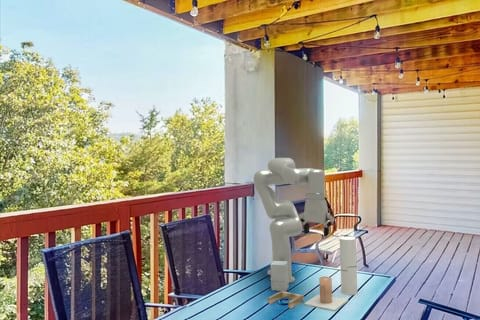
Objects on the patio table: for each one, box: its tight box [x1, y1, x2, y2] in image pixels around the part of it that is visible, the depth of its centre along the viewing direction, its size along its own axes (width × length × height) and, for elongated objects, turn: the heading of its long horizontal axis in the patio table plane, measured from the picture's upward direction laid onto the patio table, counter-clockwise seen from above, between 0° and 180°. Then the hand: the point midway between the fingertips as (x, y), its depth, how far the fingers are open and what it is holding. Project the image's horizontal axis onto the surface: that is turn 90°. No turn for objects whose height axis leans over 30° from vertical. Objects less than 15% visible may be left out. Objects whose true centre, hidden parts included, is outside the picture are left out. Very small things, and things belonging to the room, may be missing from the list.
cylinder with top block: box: [318, 276, 333, 304], centre depth 169 cm, size 5×6×10 cm
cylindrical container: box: [339, 236, 358, 296], centre depth 182 cm, size 7×7×25 cm
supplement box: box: [269, 260, 290, 292], centre depth 191 cm, size 7×7×13 cm
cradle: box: [267, 291, 304, 310], centre depth 172 cm, size 11×11×2 cm
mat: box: [303, 293, 349, 312], centre depth 170 cm, size 14×14×1 cm
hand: (316, 234), depth 178 cm, fingers open, 9 cm apart
